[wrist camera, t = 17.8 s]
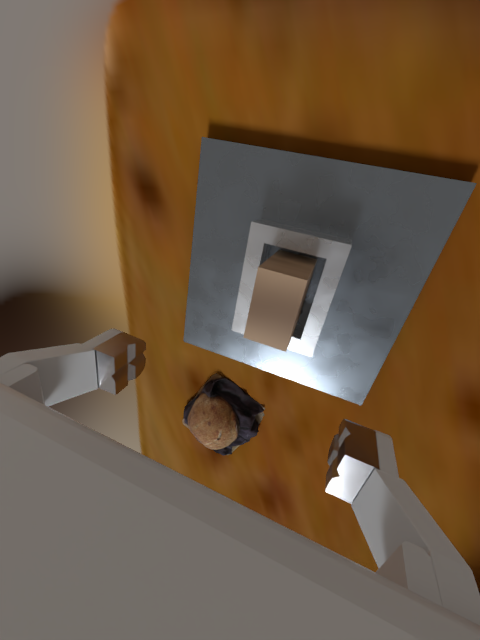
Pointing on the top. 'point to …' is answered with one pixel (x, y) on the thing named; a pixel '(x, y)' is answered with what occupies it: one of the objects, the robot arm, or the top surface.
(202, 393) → the bread roll
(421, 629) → the robot arm
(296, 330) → the metal duct collar
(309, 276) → the walnut peg
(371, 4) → the top surface
